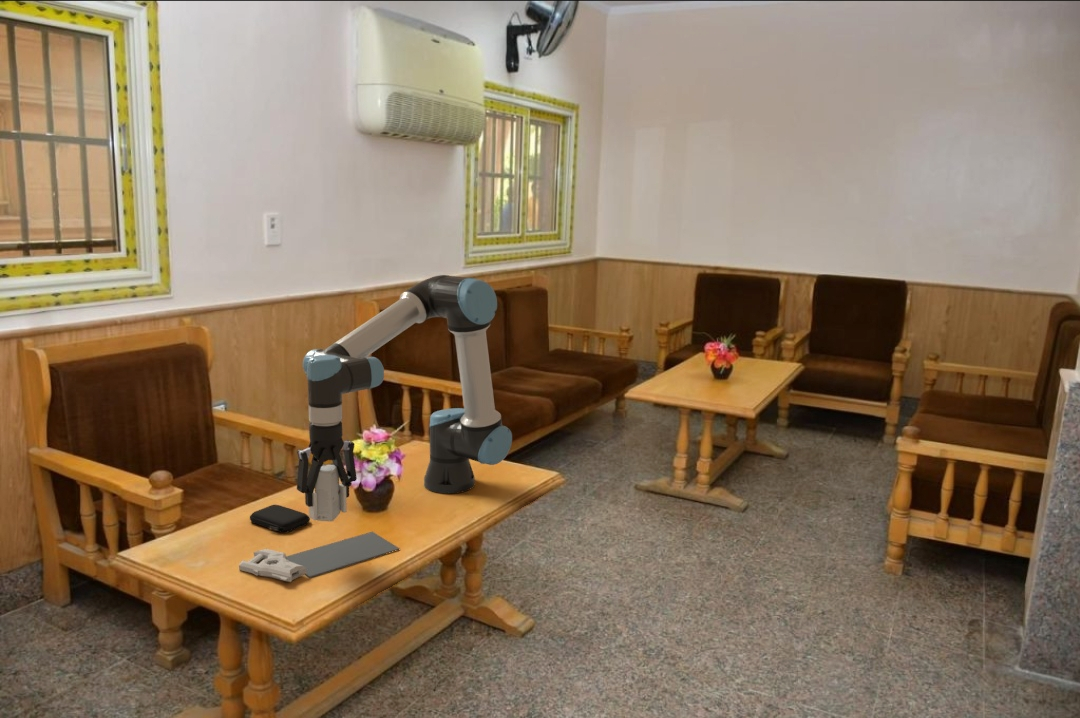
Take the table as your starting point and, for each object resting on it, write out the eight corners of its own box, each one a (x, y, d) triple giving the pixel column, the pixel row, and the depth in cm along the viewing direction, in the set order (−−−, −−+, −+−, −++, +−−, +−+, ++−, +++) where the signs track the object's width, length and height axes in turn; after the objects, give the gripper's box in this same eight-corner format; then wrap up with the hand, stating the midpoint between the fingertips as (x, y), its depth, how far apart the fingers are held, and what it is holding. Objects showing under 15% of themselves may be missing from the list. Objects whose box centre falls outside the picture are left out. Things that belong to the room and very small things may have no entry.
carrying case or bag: (243, 524, 220) (281, 537, 213) (242, 513, 220) (281, 526, 212) (275, 511, 229) (313, 524, 222) (274, 501, 229) (313, 513, 221)
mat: (372, 532, 216) (372, 531, 216) (399, 549, 207) (399, 548, 207) (284, 558, 200) (284, 556, 200) (309, 578, 191) (309, 576, 191)
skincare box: (333, 522, 197) (332, 473, 195) (314, 521, 197) (313, 472, 195) (341, 512, 203) (340, 464, 201) (323, 511, 203) (321, 463, 201)
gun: (318, 556, 194) (286, 574, 186) (319, 570, 195) (288, 588, 186) (261, 543, 203) (228, 559, 194) (262, 557, 203) (230, 573, 195)
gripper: (355, 411, 205) (357, 500, 209) (278, 425, 192) (281, 519, 196) (371, 418, 199) (372, 509, 204) (292, 432, 186) (296, 529, 191)
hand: (328, 514), depth 200 cm, fingers closed on skincare box, 7 cm apart
